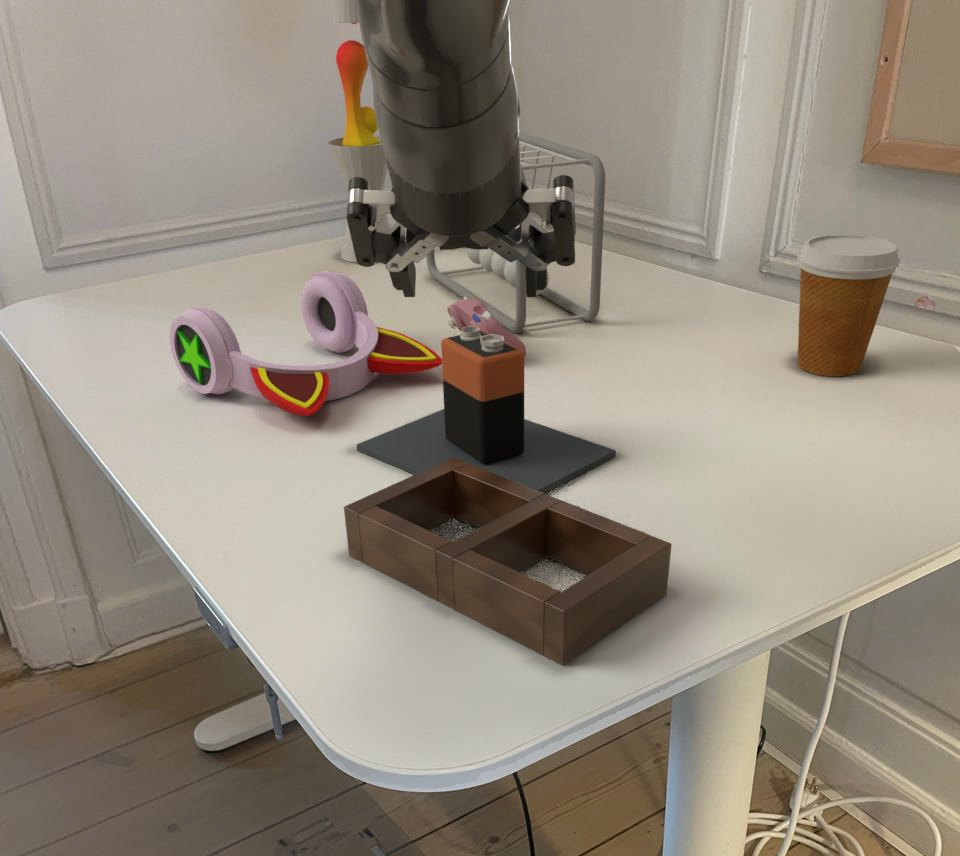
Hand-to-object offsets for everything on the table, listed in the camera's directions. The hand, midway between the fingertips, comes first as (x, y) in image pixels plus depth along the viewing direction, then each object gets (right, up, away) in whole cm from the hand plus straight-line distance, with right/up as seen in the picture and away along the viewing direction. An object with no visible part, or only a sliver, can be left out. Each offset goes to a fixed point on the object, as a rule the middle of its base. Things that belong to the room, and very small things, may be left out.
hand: (471, 285), depth 70 cm
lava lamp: (-15, +31, +75) cm, 82 cm away
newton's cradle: (+4, +18, +56) cm, 59 cm away
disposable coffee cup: (+37, +3, +33) cm, 50 cm away
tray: (+2, -20, 0) cm, 20 cm away
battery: (+1, -8, +17) cm, 19 cm away
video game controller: (+1, +6, +39) cm, 39 cm away
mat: (+1, -9, +17) cm, 19 cm away
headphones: (-16, +1, +32) cm, 36 cm away
